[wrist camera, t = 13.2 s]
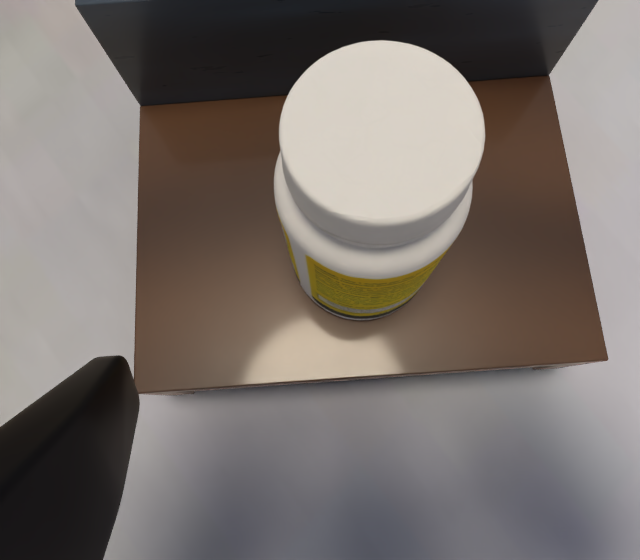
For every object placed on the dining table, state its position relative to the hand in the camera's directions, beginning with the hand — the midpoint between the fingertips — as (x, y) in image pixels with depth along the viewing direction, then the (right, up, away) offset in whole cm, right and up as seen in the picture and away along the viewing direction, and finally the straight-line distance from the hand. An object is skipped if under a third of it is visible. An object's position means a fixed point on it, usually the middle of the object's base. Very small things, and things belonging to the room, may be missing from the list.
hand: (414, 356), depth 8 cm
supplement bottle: (0, +2, +10) cm, 10 cm away
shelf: (0, +2, +14) cm, 14 cm away
